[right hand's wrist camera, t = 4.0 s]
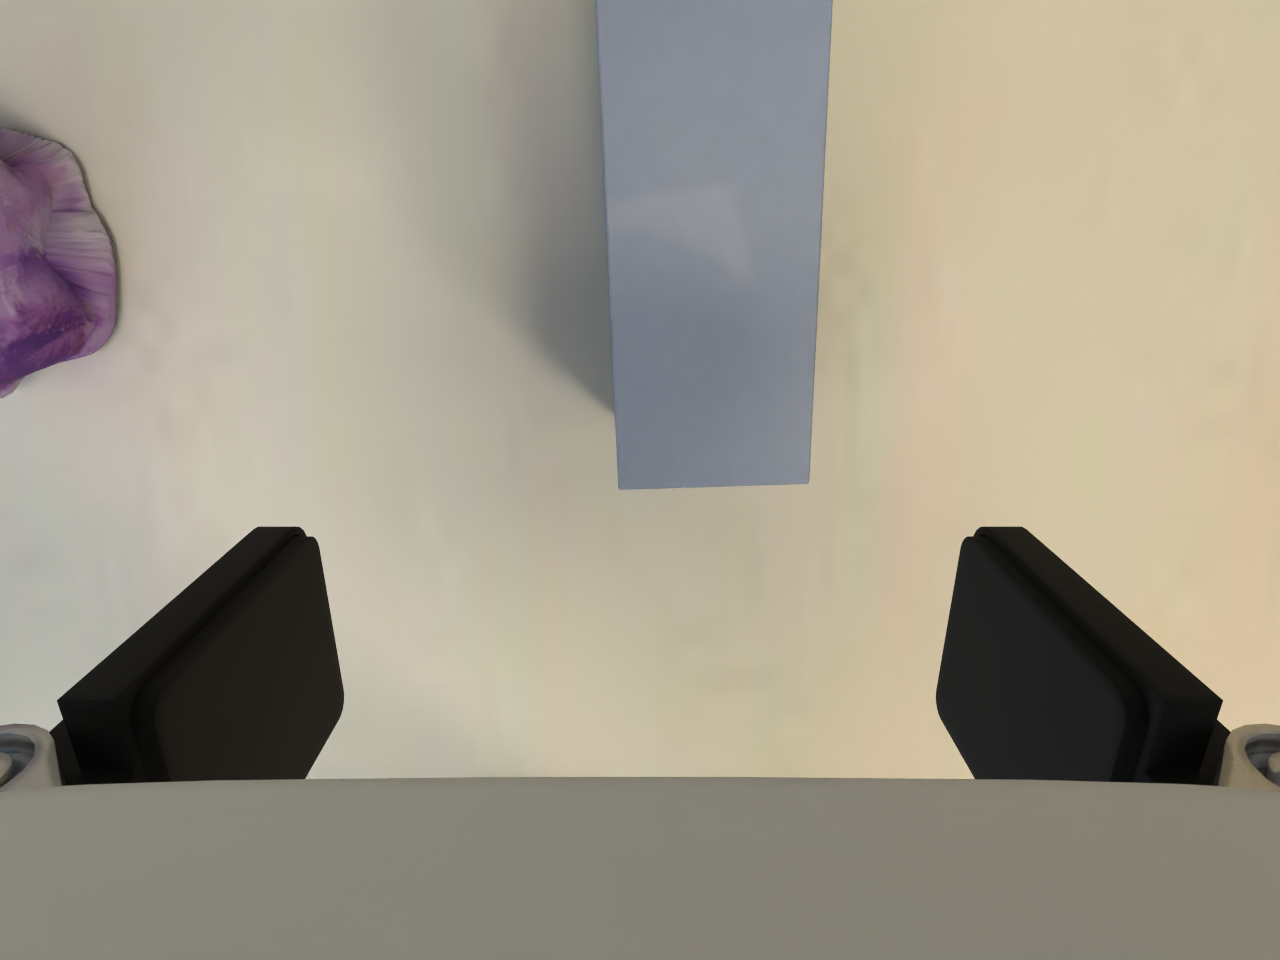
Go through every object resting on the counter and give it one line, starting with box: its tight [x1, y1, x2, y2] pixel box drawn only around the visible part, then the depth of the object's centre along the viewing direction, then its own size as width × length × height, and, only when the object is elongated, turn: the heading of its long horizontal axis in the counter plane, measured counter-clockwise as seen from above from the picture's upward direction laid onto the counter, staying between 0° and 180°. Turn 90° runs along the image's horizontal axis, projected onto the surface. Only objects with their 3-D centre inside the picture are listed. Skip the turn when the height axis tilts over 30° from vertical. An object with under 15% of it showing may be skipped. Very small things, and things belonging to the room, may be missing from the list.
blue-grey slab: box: [596, 0, 833, 490], centre depth 27 cm, size 16×7×8 cm, turn 2°
